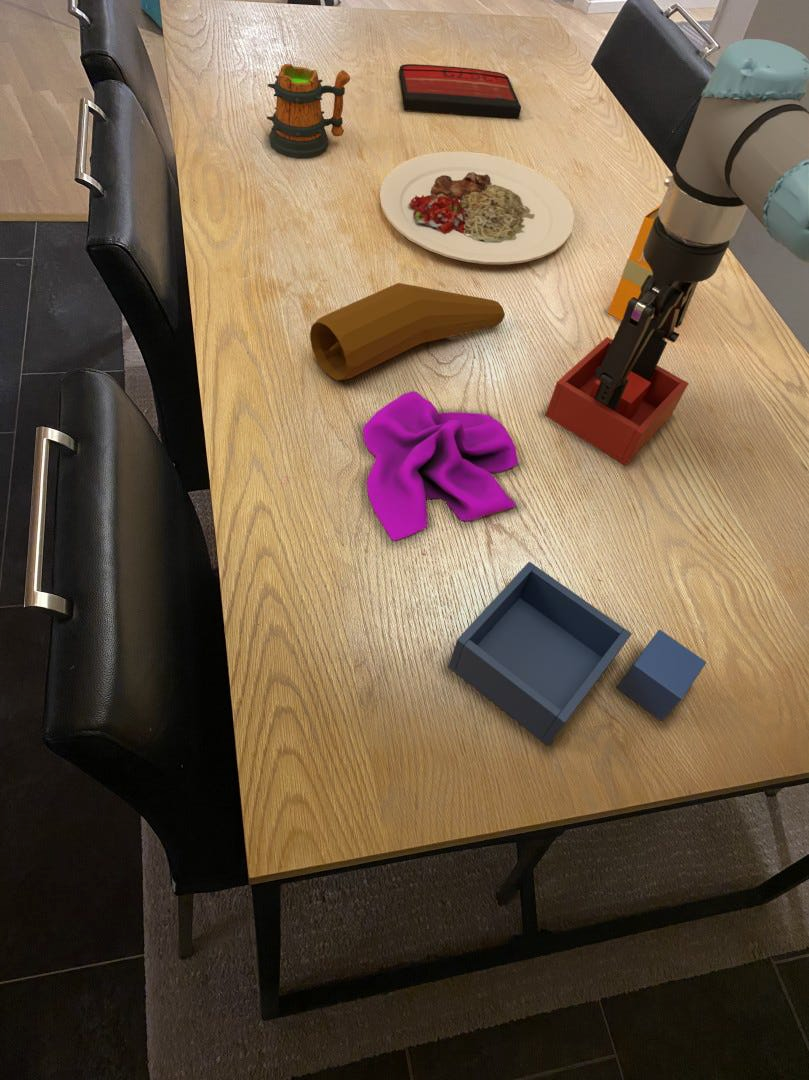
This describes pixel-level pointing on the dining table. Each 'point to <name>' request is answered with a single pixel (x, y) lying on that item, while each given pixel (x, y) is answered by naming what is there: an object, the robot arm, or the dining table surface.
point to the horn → (395, 326)
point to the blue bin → (537, 651)
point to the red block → (629, 395)
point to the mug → (304, 112)
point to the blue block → (661, 675)
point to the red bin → (602, 422)
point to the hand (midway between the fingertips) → (618, 398)
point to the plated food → (476, 207)
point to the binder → (457, 91)
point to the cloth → (434, 463)
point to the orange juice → (633, 270)
